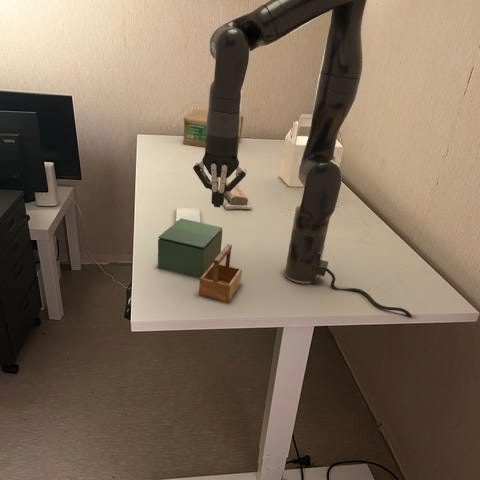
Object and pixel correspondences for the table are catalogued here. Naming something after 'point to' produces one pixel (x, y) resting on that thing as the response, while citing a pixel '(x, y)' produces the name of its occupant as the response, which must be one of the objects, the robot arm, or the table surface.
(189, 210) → the hard drive
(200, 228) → the flap
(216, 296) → the basket
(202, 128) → the paper package
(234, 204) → the packaged product
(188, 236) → the carton
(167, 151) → the table surface
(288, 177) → the gable box
